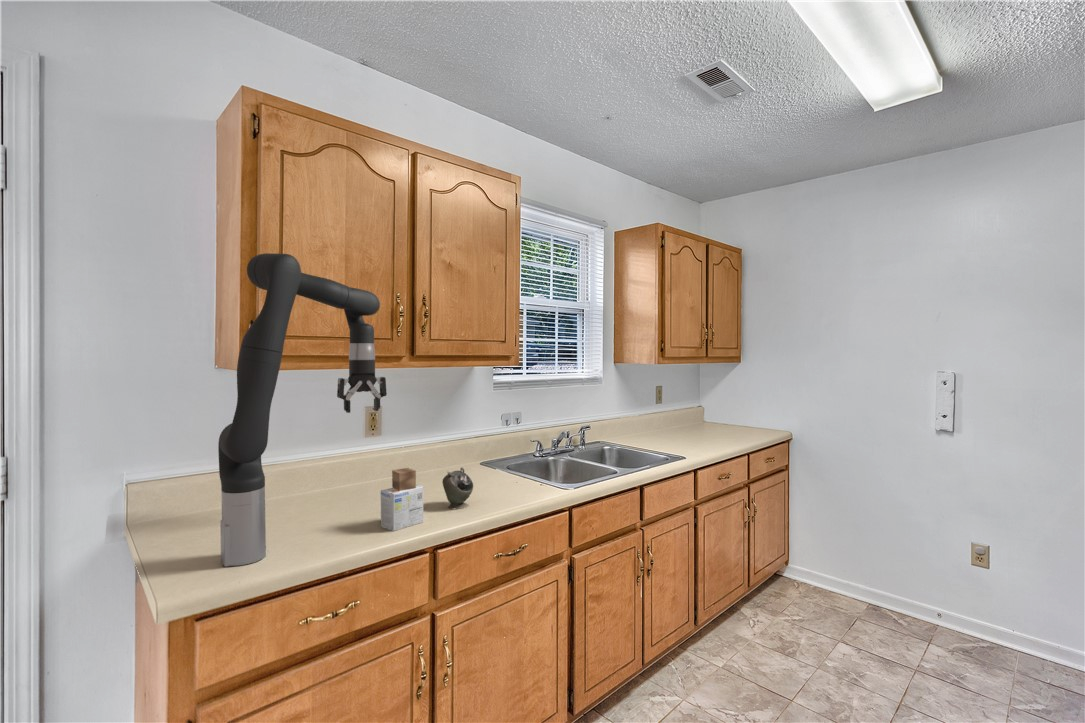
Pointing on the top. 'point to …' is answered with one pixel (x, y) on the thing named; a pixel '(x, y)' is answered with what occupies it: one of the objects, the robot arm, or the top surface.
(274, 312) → the robot arm
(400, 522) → the light bulb box
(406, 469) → the walnut cube
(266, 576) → the top surface
